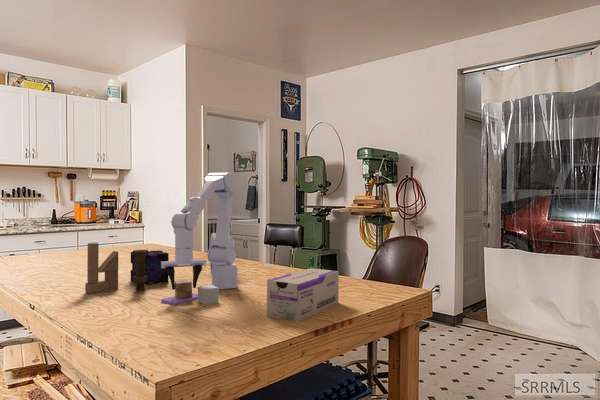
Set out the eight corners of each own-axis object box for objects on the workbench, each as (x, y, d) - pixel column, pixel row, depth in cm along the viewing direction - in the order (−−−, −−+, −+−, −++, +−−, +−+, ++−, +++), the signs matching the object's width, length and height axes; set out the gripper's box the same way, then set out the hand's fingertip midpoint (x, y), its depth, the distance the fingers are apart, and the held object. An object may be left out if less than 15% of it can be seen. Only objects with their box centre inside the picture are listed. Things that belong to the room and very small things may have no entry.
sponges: (160, 304, 137) (161, 298, 137) (190, 297, 147) (190, 292, 147) (175, 307, 133) (175, 301, 133) (204, 300, 143) (204, 294, 143)
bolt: (142, 292, 150) (142, 251, 150) (129, 292, 151) (129, 251, 151) (150, 289, 156) (151, 249, 156) (138, 288, 157) (138, 249, 157)
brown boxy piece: (190, 293, 144) (189, 279, 144) (192, 296, 139) (191, 282, 139) (175, 295, 142) (174, 280, 142) (176, 298, 137) (176, 283, 137)
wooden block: (118, 289, 156) (118, 241, 156) (90, 294, 147) (90, 243, 147) (113, 288, 158) (113, 240, 158) (84, 293, 150) (85, 243, 149)
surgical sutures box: (310, 299, 142) (310, 268, 142) (338, 303, 137) (338, 271, 137) (266, 316, 121) (267, 280, 121) (297, 322, 115) (298, 284, 115)
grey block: (211, 299, 141) (211, 285, 141) (218, 302, 137) (218, 287, 137) (197, 302, 138) (197, 286, 138) (204, 305, 134) (204, 289, 134)
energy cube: (168, 282, 169) (168, 253, 169) (137, 286, 162) (137, 255, 162) (160, 278, 179) (160, 250, 179) (130, 281, 172) (130, 252, 172)
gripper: (162, 250, 133) (162, 292, 133) (207, 248, 139) (207, 288, 139) (160, 247, 140) (160, 288, 140) (204, 246, 146) (204, 284, 146)
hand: (183, 288), depth 140 cm, fingers open, 6 cm apart
